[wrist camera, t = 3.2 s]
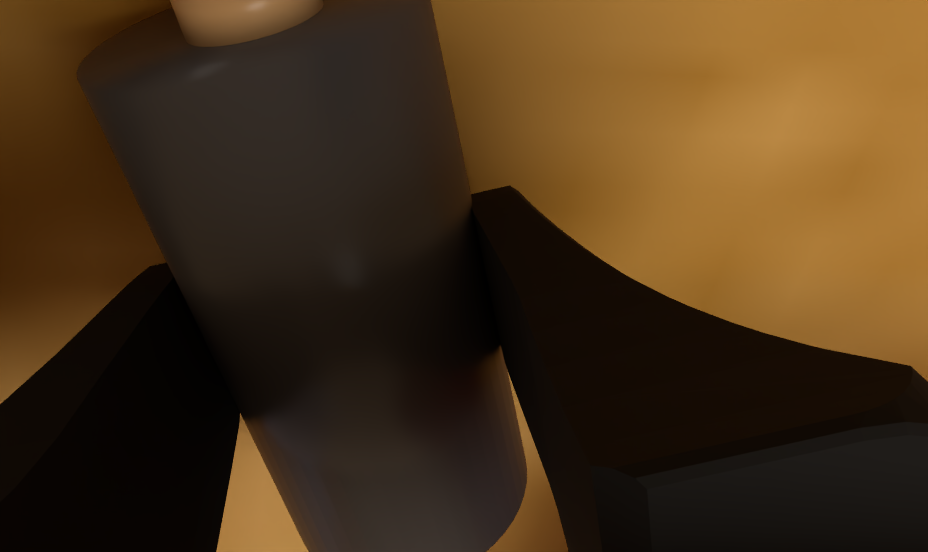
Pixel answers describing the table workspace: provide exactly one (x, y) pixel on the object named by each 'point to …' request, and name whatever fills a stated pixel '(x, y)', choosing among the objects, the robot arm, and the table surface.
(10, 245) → the table surface
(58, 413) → the robot arm
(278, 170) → the cylinder
